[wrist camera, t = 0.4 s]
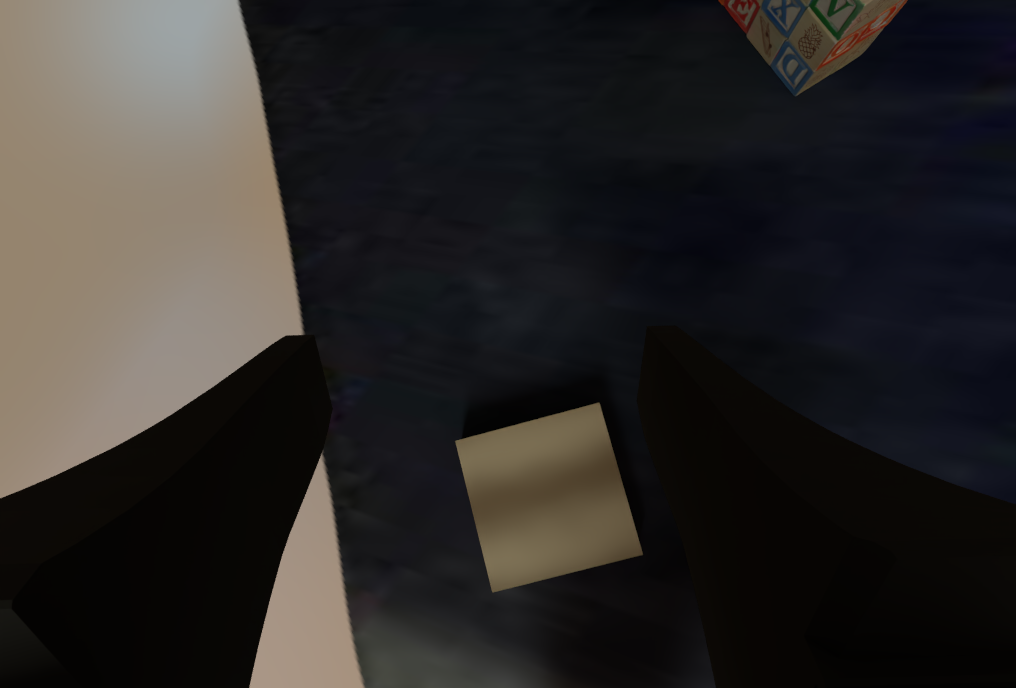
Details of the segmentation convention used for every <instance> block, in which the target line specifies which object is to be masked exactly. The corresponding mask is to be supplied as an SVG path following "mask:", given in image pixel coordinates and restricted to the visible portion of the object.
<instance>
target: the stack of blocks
mask: <svg viewBox="0 0 1016 688" xmlns="http://www.w3.org/2000/svg"><path fill="white" fill-rule="evenodd" d="M718 1H719V2H720V3H721V4H722V5H724V6H725V8H726V10H727V11H728V12H729V13H730V15H731V16H732V17H733V19H734V20H735V21H736V22H737V23H738V25H739V26H740V27H741V29H742V30H743V31H744V32H745V33H746V34H747V38H748V39H749V41H750V42H751V43H752V44H753V46H754V47H755V48H756V49H757V51H758V52H759V53H760V54H761V56H762V57H763V58H764V60H765V61H766V62H767V63H768V64H769V65H770V66H771V68H772V69H773V71H774V72H775V73H776V74H777V76H778V77H779V78H780V80H781V81H782V82H783V83H784V84H785V86H786V87H787V88H788V89H789V90H790V92H791V93H792V94H793V95H794V96H797V95H799V94H800V93H802V92H803V91H805V90H806V89H808V88H809V87H811V86H813V85H814V84H816V83H817V82H819V81H821V80H822V79H824V78H825V77H827V76H828V75H830V74H832V73H834V72H835V71H837V70H839V69H840V68H842V67H843V66H845V65H847V64H848V63H850V62H851V61H853V60H854V59H856V58H857V57H858V56H860V55H861V54H862V53H863V52H864V51H865V50H866V49H867V48H868V47H869V46H870V44H871V43H872V42H873V41H874V40H875V38H876V37H877V36H878V34H879V33H880V32H881V31H882V30H883V28H884V27H885V26H886V25H888V24H889V23H890V21H891V20H892V19H893V18H894V16H895V15H896V14H897V13H898V11H899V10H900V9H901V8H902V7H903V6H904V4H905V3H906V2H907V1H908V0H718Z"/></svg>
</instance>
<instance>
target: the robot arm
mask: <svg viewBox="0 0 1016 688" xmlns="http://www.w3.org/2000/svg"><path fill="white" fill-rule="evenodd" d="M637 404H638V409H639V414H640V418H641V423H642V428H643V432H644V436H645V440H646V443H647V446H648V449H649V452H650V454H651V457H652V460H653V463H654V465H655V468H656V471H657V473H658V476H659V479H660V482H661V484H662V487H663V490H664V492H665V495H666V498H667V500H668V503H669V506H670V508H671V511H672V514H673V516H674V519H675V522H676V524H677V527H678V531H679V534H680V537H681V540H682V543H683V546H684V550H685V554H686V558H687V562H688V566H689V570H690V574H691V578H692V582H693V586H694V590H695V594H696V598H697V603H698V607H699V611H700V616H701V620H702V624H703V629H704V633H705V637H706V642H707V647H708V651H709V656H710V661H711V666H712V670H713V675H714V680H715V685H716V688H1016V505H1015V504H1012V503H1009V502H1006V501H1003V500H1000V499H997V498H994V497H991V496H988V495H985V494H982V493H979V492H975V491H972V490H969V489H966V488H963V487H960V486H957V485H955V484H952V483H949V482H946V481H944V480H941V479H939V478H936V477H933V476H931V475H928V474H926V473H923V472H920V471H918V470H915V469H913V468H910V467H908V466H905V465H903V464H900V463H898V462H896V461H893V460H891V459H889V458H886V457H884V456H882V455H879V454H877V453H875V452H873V451H871V450H869V449H867V448H864V447H862V446H860V445H858V444H856V443H854V442H852V441H849V440H847V439H845V438H843V437H841V436H839V435H837V434H835V433H833V432H831V431H829V430H827V429H826V428H824V427H822V426H820V425H818V424H817V423H815V422H813V421H811V420H810V419H808V418H806V417H804V416H802V415H801V414H799V413H797V412H795V411H794V410H792V409H790V408H789V407H787V406H785V405H784V404H782V403H781V402H779V401H777V400H776V399H774V398H773V397H771V396H770V395H768V394H767V393H765V392H764V391H762V390H761V389H759V388H758V387H756V386H755V385H754V384H752V383H751V382H749V381H748V380H746V379H745V378H744V377H742V376H741V375H740V374H738V373H737V372H735V371H734V370H733V369H731V368H730V367H729V366H727V365H726V364H725V363H723V362H722V361H721V360H720V359H718V358H717V357H716V356H714V355H713V354H712V353H711V352H709V351H708V350H707V349H705V348H704V347H703V346H702V345H700V344H699V343H698V342H697V341H695V340H694V339H693V338H691V337H690V336H689V335H688V334H686V333H685V332H684V331H682V330H681V329H679V328H678V327H677V326H647V331H646V338H645V345H644V353H643V360H642V367H641V374H640V381H639V389H638V396H637ZM332 409H333V408H332V404H331V400H330V396H329V392H328V388H327V384H326V380H325V376H324V372H323V369H322V365H321V361H320V357H319V353H318V349H317V345H316V341H315V337H314V335H293V336H285V337H283V338H281V339H280V340H278V341H277V342H275V343H274V344H272V345H271V346H269V347H268V348H266V349H265V350H264V351H262V352H261V353H259V354H258V355H257V356H255V357H254V358H253V359H251V360H250V361H249V362H247V363H246V364H244V365H243V366H242V367H240V368H239V369H237V370H236V371H235V372H233V373H232V374H231V375H229V376H228V377H226V378H225V379H224V380H222V381H221V382H219V383H218V384H217V385H215V386H214V387H212V388H211V389H209V390H208V391H206V392H205V393H203V394H202V395H200V396H199V397H197V398H196V399H194V400H193V401H191V402H190V403H188V404H187V405H185V406H184V407H182V408H181V409H179V410H178V411H176V412H175V413H173V414H172V415H170V416H168V417H167V418H165V419H164V420H162V421H160V422H159V423H157V424H155V425H154V426H152V427H150V428H148V429H147V430H145V431H143V432H141V433H140V434H138V435H136V436H134V437H132V438H130V439H129V440H127V441H125V442H123V443H121V444H120V445H118V446H116V447H114V448H112V449H110V450H108V451H106V452H104V453H102V454H100V455H97V456H95V457H93V458H91V459H89V460H87V461H85V462H83V463H81V464H79V465H77V466H74V467H72V468H70V469H68V470H66V471H64V472H62V473H60V474H58V475H56V476H53V477H51V478H49V479H46V480H44V481H42V482H39V483H37V484H35V485H32V486H30V487H28V488H25V489H23V490H21V491H18V492H16V493H13V494H11V495H8V496H6V497H3V498H0V688H249V685H250V681H251V677H252V672H253V667H254V663H255V658H256V654H257V649H258V645H259V641H260V637H261V633H262V629H263V624H264V621H265V617H266V613H267V609H268V605H269V601H270V597H271V593H272V589H273V586H274V582H275V578H276V575H277V572H278V568H279V564H280V561H281V557H282V554H283V551H284V548H285V546H286V543H287V540H288V537H289V534H290V531H291V529H292V527H293V524H294V521H295V519H296V517H297V514H298V512H299V509H300V507H301V504H302V502H303V499H304V497H305V494H306V492H307V489H308V486H309V484H310V481H311V479H312V477H313V474H314V471H315V469H316V466H317V464H318V461H319V459H320V456H321V453H322V450H323V448H324V444H325V440H326V436H327V432H328V427H329V423H330V418H331V414H332Z"/></svg>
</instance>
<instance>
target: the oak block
mask: <svg viewBox="0 0 1016 688" xmlns="http://www.w3.org/2000/svg"><path fill="white" fill-rule="evenodd" d="M455 442H456V446H457V450H458V454H459V458H460V462H461V466H462V470H463V474H464V478H465V483H466V487H467V491H468V495H469V499H470V503H471V507H472V511H473V515H474V519H475V523H476V527H477V531H478V536H479V540H480V544H481V548H482V552H483V556H484V560H485V564H486V568H487V572H488V576H489V580H490V584H491V589H492V592H496V591H500V590H504V589H508V588H512V587H516V586H520V585H524V584H528V583H532V582H536V581H540V580H544V579H548V578H552V577H556V576H560V575H564V574H568V573H572V572H576V571H580V570H584V569H588V568H592V567H596V566H600V565H604V564H608V563H612V562H616V561H620V560H624V559H628V558H632V557H636V556H640V555H643V553H642V549H641V546H640V542H639V539H638V535H637V532H636V528H635V525H634V521H633V518H632V514H631V511H630V507H629V504H628V501H627V497H626V494H625V490H624V487H623V483H622V480H621V476H620V473H619V469H618V466H617V462H616V459H615V455H614V452H613V448H612V445H611V441H610V438H609V434H608V431H607V427H606V424H605V420H604V417H603V413H602V410H601V407H600V403H596V404H592V405H588V406H584V407H581V408H577V409H573V410H569V411H566V412H562V413H558V414H554V415H551V416H547V417H543V418H539V419H536V420H532V421H528V422H524V423H521V424H517V425H513V426H509V427H506V428H502V429H498V430H494V431H491V432H487V433H483V434H479V435H476V436H472V437H468V438H464V439H461V440H457V441H455Z"/></svg>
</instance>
